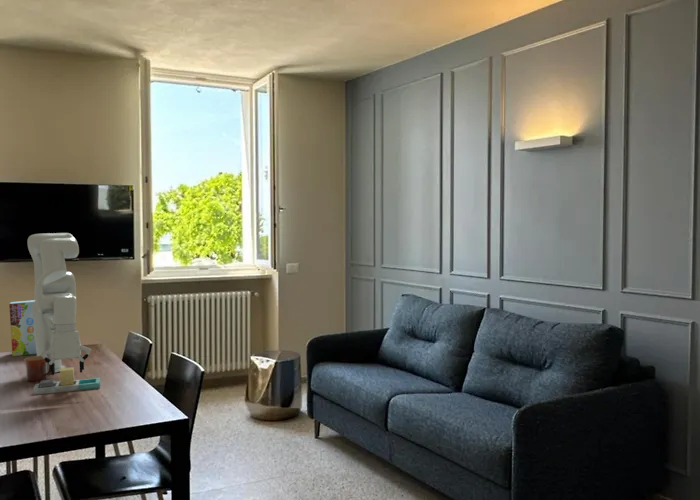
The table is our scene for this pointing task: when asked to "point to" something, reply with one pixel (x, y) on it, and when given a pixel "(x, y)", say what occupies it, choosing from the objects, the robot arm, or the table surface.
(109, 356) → the table surface
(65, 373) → the wooden block
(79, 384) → the rail
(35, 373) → the mug
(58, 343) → the robot arm
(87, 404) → the table surface
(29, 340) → the snack box
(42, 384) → the grey hollow block
